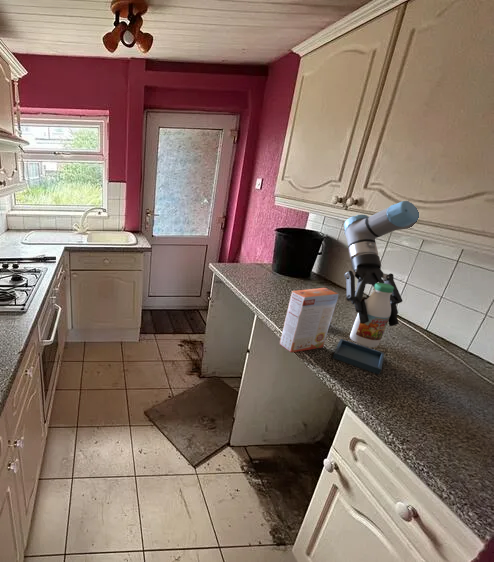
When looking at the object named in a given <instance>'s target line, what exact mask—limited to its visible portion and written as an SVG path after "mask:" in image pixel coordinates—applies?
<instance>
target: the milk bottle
mask: <svg viewBox="0 0 494 562" xmlns="http://www.w3.org/2000/svg"><path fill="white" fill-rule="evenodd" d="M372 290H373V291H372V293H371V294H370V295H369V296H368V297H367V298H366V299H365V300H364V301H365V305H366V310H367V314H368V319H369V321H368V322H366V323H364V324H361V323H360V318H359V313H358V312H357V315H356V317H355V319H354V322H353V326H352V328H351V331H350V335H349V338H350V340H351V342H353V343H355V344H358V345H362V346H365V347H368V348H377V347H378V346H379V345H380V343H381V340H382V338H383V336H384V333H385V330H386V328H387V326H388V324H389V322H388V320H389V318H390V315H391V304H390V295H391V294H392V292H393V290H394V287H393V286H391V285H389V284H385V283H379V282H378V283H376V284H375V286H374V287H373V289H372Z"/></svg>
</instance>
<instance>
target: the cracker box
mask: <svg viewBox="0 0 494 562" xmlns="http://www.w3.org/2000/svg"><path fill="white" fill-rule="evenodd" d="M339 295H340V294H339V293H338V292H336V291H333V290H331V289H329V288H327V287H320V288H319V287H318V288H310V289H309V288H308V289H299V290H292V291H291V294H290V297H289V302H288V307H287V311H286V314H285V315H286V316H285V319H284V322H283V323H284V324H283V327H282V332H281V336H280V340H279V345H280V346H281V347H282V348H284V349H285V350H287V351H288V352H290V353H296V352H297V353H298V352H304V351H309V350H310V351H311V350H314V349H315V350H316V349H321V348H324V345H325V342H326V339H327V336H328V333H329V329H330V324H331V322H332V319H333V316H334V312H335V309H336V305H337V302H338V299H339Z"/></svg>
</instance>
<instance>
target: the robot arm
mask: <svg viewBox="0 0 494 562" xmlns="http://www.w3.org/2000/svg"><path fill="white" fill-rule="evenodd" d="M414 205H415V204H414V203H412V202H410V201H409V200H402V201H399V202H398V203H395V204H391V205H389V206H388V207H386V208H384V209H381V210H380V211H378V212H376V213H374V214H372V215H367V214H356V215H353V216H350V217H348V218H347V219H346V220H345V221H344V224H343V227H344V235H345V239H346V242H347V247H348V254H349V260H350V263H351V268H352V270H348V271H347V272H345V273H344V278H345V282H346V283H345V287H346V289H345V290H346V292H345V293H346V295H345V296H346V298H345V299H346V301H347V302H350V303H351V304H352V305H354V309H355V312H356V313H357V314H358V313H359V318H360V323H361V324H364V323H366V322H368V321H369V319H368V314H367V310H366V305H365V300H363V296H364V294H365V293H364V292H365V289H366V285H370V286H372V287H373V288H374V286H375V284H376V283H385V284H389V285H391V286H393V287H394V290H393V292H392V294H391V295H390V304H391V315H390V318H389V320H388V325H389V327H394V326H397V325H399V320H398V316H397V315H398V314H399V309H398V307H397V305H398V304H401V303H402V302H403V298H402V296H401V294H400V291H399V289H398V287H397V284H396V283H395V280H394V279H395V278H394V276H395V275H394V273H391V272H390V273H388V274H387V273H385V272H383V271H382V262H381V259H380V256H379V251H378V246H377V242H376V239H378V238H380V237H382V236H385V235H387V234H390V233H393V232H395V231H401V230H408V228H410V227H412V226H413V225H414V224H415V223H416V222H417V220H418V218H419V212H418V210H417V208H416V207H415V206H414ZM410 229H411V228H410ZM356 279H357V282H356Z"/></svg>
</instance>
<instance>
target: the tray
mask: <svg viewBox="0 0 494 562" xmlns="http://www.w3.org/2000/svg"><path fill="white" fill-rule="evenodd" d="M384 358H385V352H383V351H380V350H376V349H373V348H372V347H366V346H363V345H360V344H358V343H356V342H353V341H349V340H347V339H346V340H345V339H344V338H343V339H342V338H340V339H339V341H338V344H337V346H336V348H335V351H334V353H333V356H332V359H335V360H338V361H339V362H342V363H346V364H348V365H352V366H353V367H356V368H359V369H361V370H365V371H366V372H367V371H368V372H370V373H373V374H376V375H379V376H380V374H381V372H382V369H383V363H384Z"/></svg>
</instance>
